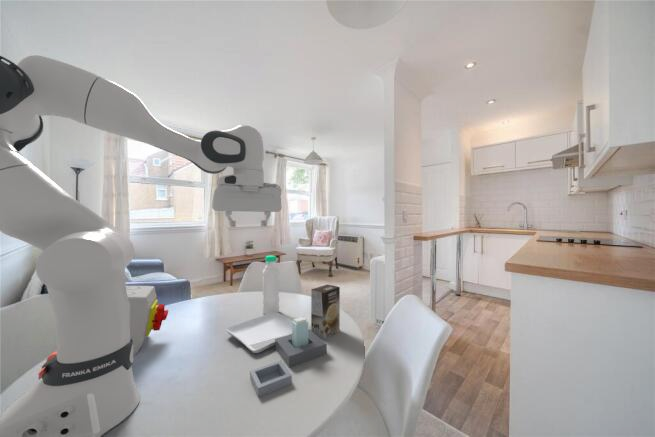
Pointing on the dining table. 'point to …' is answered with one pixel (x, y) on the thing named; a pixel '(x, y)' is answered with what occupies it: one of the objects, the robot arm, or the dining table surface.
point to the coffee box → (325, 310)
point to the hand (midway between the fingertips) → (248, 226)
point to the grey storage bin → (270, 378)
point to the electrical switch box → (144, 313)
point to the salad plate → (261, 330)
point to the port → (300, 349)
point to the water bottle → (270, 286)
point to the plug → (299, 332)
